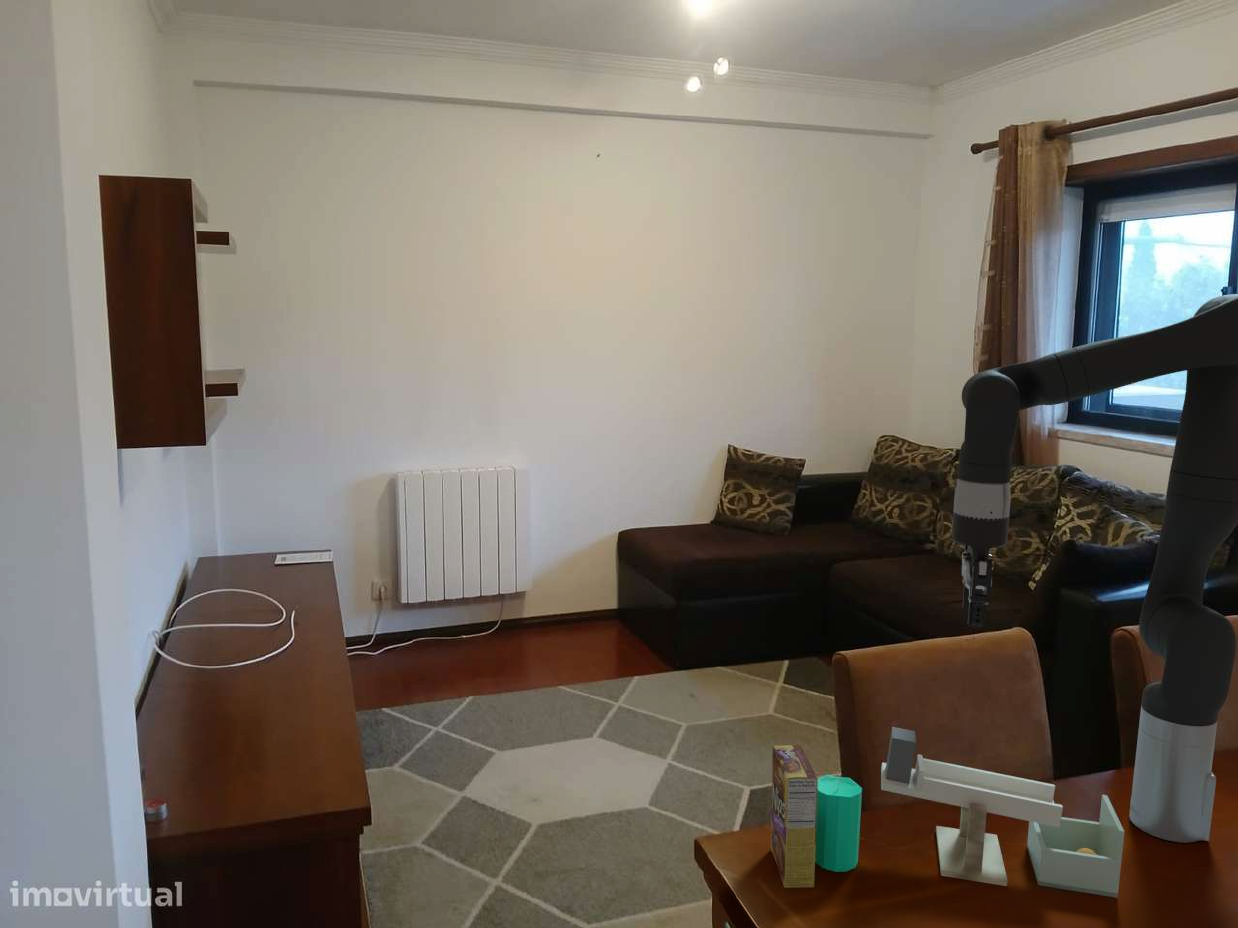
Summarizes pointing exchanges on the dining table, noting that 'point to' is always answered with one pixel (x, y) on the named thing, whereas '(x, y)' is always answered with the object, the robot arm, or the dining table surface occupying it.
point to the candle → (837, 823)
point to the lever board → (965, 784)
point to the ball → (1086, 851)
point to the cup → (1074, 869)
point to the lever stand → (971, 849)
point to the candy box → (793, 816)
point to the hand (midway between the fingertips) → (972, 618)
